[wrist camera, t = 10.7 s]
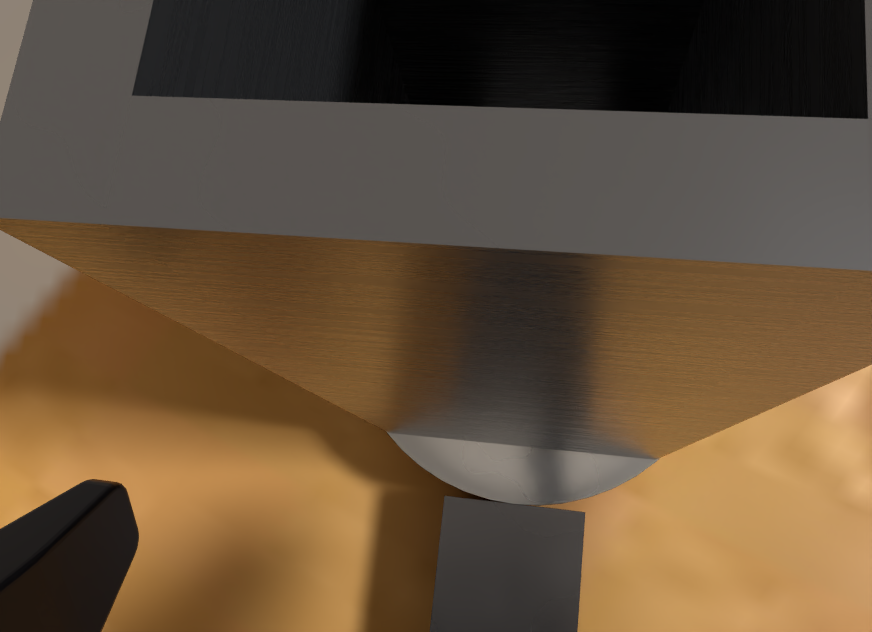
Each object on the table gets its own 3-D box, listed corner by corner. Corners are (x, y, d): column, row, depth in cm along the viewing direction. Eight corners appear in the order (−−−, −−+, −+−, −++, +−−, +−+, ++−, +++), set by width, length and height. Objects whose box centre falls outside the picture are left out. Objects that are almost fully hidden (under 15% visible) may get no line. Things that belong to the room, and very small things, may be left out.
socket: (655, 459, 15) (1059, 283, 3) (389, 432, 16) (-26, 216, 4) (666, 205, 17) (983, -560, 5) (418, 193, 18) (163, -484, 6)
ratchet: (391, 178, 20) (352, 86, 16) (705, 194, 19) (754, 100, 14) (274, 1026, 16) (172, 1224, 11) (674, 1121, 14) (733, 1385, 10)
